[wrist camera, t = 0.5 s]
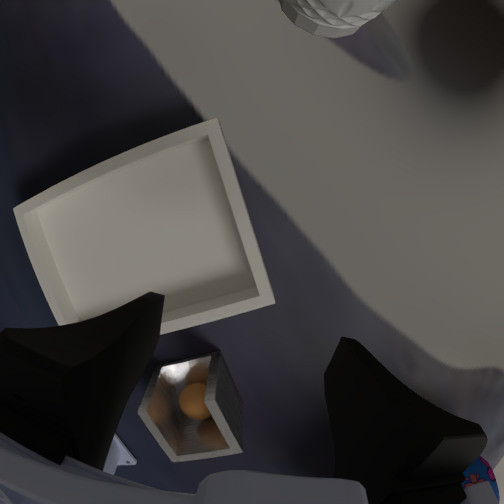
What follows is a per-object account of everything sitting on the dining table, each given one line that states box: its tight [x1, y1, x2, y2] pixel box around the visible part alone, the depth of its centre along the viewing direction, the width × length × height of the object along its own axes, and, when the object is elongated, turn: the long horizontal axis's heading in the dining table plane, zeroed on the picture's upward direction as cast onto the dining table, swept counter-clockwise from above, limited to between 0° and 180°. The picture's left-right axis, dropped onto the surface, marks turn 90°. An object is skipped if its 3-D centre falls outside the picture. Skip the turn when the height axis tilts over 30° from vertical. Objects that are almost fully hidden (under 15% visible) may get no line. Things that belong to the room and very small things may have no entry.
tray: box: [13, 118, 275, 335], centre depth 21 cm, size 16×12×2 cm
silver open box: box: [137, 350, 243, 462], centre depth 22 cm, size 6×6×6 cm
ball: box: [179, 383, 211, 420], centre depth 23 cm, size 3×3×3 cm
